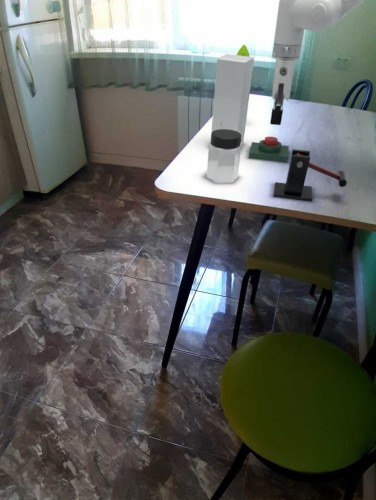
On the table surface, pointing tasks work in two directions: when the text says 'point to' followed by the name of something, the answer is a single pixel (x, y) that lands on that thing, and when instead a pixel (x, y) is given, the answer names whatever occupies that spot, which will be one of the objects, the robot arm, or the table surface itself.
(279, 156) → the button box
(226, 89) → the tall white carton
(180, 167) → the table surface
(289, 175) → the lever stand
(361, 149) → the table surface
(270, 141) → the button
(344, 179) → the red lever handle
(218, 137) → the jar
